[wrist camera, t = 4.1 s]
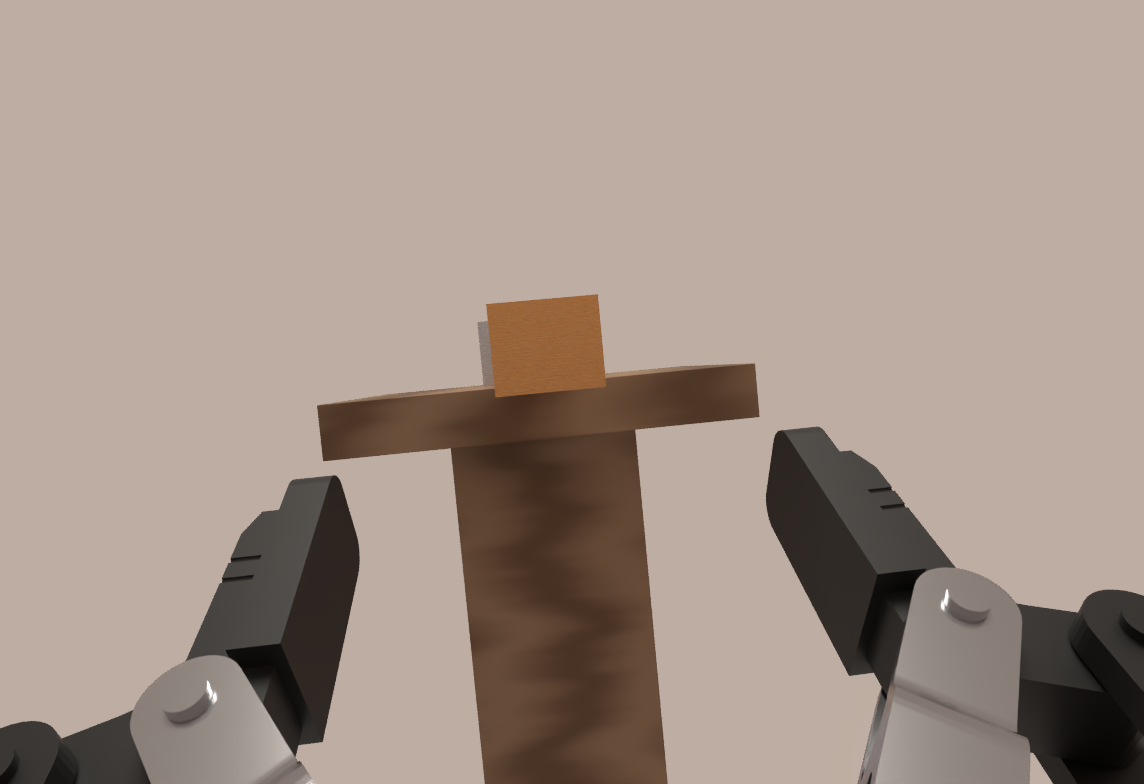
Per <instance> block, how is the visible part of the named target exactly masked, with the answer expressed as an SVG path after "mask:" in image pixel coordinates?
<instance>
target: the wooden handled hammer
mask: <svg viewBox="0 0 1144 784" xmlns="http://www.w3.org/2000/svg"><path fill="white" fill-rule="evenodd" d="M486 305H487V316H488V321H487V322H478V332H479V342H480V352H481V363H482V373H483V383H484V387H485V386H494V387H495V397H505V396H515V395H526V394H536V393H546V392H557V391H567V390H577V389H588V388H598V387H606V379H605V369H604V359H603V347H602V336H601V326H600V314H599V304H598V295H587V296H576V297H564V298H552V299H541V300H530V301H518V302H508V303H495V304H486Z"/></svg>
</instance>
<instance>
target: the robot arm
mask: <svg viewBox="0 0 1144 784" xmlns="http://www.w3.org/2000/svg"><path fill="white" fill-rule="evenodd" d="M766 505H767V512H768V516H769V520H770V523H771V526H772V528H773V530H774V532H775V534H776V536H777V538H778V540H779V541H780V543H781V545H782V547H783V549H784V551H785V553H786V555H787V557H788V559H789V561H790V563H791V565H792V567H793V568H794V570H795V572H796V574H797V576H798V578H799V580H800V582H801V584H802V586H803V587H804V590H805V592H806V593H807V595H808V597H809V599H810V601H811V603H812V605H813V607H814V609H815V611H816V612H817V615H818V617H819V619H820V620H821V623H822V624H823V626H824V628H825V630H826V632H827V634H828V636H829V638H830V640H831V642H832V644H833V646H834V648H835V649H836V651H837V653H838V655H839V657H840V659H841V661H842V663H843V665H844V667H845V669H846V671H847V673H848V675H849V676H852V675H859V674H867V673H874V674H875V675H876V677H877V679H878V681H879V683H880V685H881V686H882V687H881V690H880V693H879V696H878V700H877V704H876V708H875V712H874V717H873V721H872V725H871V730H870V734H869V738H868V742H867V746H866V750H865V755H864V759H863V764H862V768H861V772H860V776H859V780H858V784H1029V781H1030V779H1029V778H1030V752H1031V753H1034V754H1035V756H1036V758H1037V759H1038V761H1039V762H1040V764H1041V765H1042V767H1043V769H1044V770H1045V772H1046V773H1047V775H1048V776H1049V778H1050V779H1051V781H1052V782H1053V784H1144V596H1142V595H1139V594H1136V593H1132V592H1128V591H1122V590H1102V591H1097V592H1094V593H1092V594H1091V595H1089V596H1088V597H1087V598H1086V599H1085V600H1084V602H1083V604H1082V606H1081V608H1080V610H1079V612H1078V613H1076V612H1069V611H1062V610H1056V609H1049V608H1042V607H1041V608H1040V607H1035V606H1028V605H1022V604H1017V603H1015V601H1014V600H1013V599H1012V598H1011V596H1010V595H1009V594H1008V593H1007V592H1006V591H1005V590H1003V589H1002V588H1001V587H1000V586H998V585H997V584H995V583H994V582H992V581H991V580H989V579H987V578H985V577H983V576H981V575H979V574H976V573H973V572H970V571H967V570H963V569H957V568H955V566H954V565H953V564H952V563H951V561H950V560H949V559H948V558H947V556H946V555H945V554H944V552H943V551H942V550H941V549H940V547H939V546H938V545H937V544H936V542H935V541H934V540H933V539H932V537H931V536H930V535H929V534H928V532H927V531H926V530H925V529H924V527H923V526H922V525H921V523H920V522H919V521H918V520H917V518H916V517H915V516H914V515H913V513H912V512H911V511H910V509H909V508H905V505H904V502H903V501H902V499H901V498H900V497H899V496H898V494H897V493H896V492H895V491H892V489H891V486H890V484H889V483H888V482H887V480H886V479H885V478H884V477H883V475H882V474H881V473H880V472H879V470H878V469H877V468H876V467H875V466H874V465H872V464H870V463H869V462H868V461H866V460H865V459H863V458H862V457H860V456H858V455H857V454H855V453H854V452H852V451H842V452H839V450H838V449H837V448H836V446H835V445H834V444H833V442H832V441H831V439H830V438H829V437H828V435H827V434H826V433H825V431H824V430H823V429H822V428H820V427H810V428H801V429H791V430H781V431H778V432H777V433H776V435H775V438H774V443H773V449H772V456H771V463H770V471H769V478H768V485H767V493H766ZM359 561H360V560H359V544H358V539H357V535H356V532H355V528H354V525H353V521H352V518H351V515H350V512H349V508H348V505H347V501H346V498H345V495H344V491H343V488H342V485H341V482H340V480H339V478H338V477H337V476H335V475H334V476H324V477H316V478H305V479H296V480H292V481H291V482H290V484H289V486H288V488H287V491H286V493H285V496H284V499H283V501H282V504H281V506H280V509H279V510H275V511H266V512H262V513H261V514H260V515H259V516H258V517H257V518H256V519H255V520H254V521H253V522H252V523H251V524H250V526H249V527H248V528H247V529H246V530H245V531H244V532H243V533H242V534H241V536H240V538H239V540H238V543H237V545H236V547H235V550H234V552H233V554H232V557H231V563H228V566H227V568H226V570H225V572H224V575H223V577H222V583H220V584H219V586H218V589H217V591H216V593H215V595H214V598H213V600H212V602H211V605H210V607H209V609H208V612H207V614H206V616H205V618H204V621H203V623H202V625H201V628H200V630H199V632H198V634H197V637H196V639H195V641H194V644H193V646H192V648H191V651H190V653H189V655H188V658H187V659H186V661H185V662H183V663H181V664H179V665H177V666H175V667H173V668H171V669H170V670H168V671H167V672H165V673H164V674H162V675H161V676H160V677H159V678H158V679H157V680H155V681H154V682H153V683H152V684H151V685H150V686H149V687H148V688H147V689H146V690H145V692H144V693H143V694H142V696H141V697H140V699H139V700H138V702H137V703H136V705H135V707H134V710H132V711H130V712H128V713H126V714H123V715H121V716H119V717H116V718H114V719H111V720H109V721H106V722H103V723H101V724H98V725H96V726H93V727H90V728H88V729H85V730H83V731H80V732H78V733H75V734H73V735H70V736H67V737H65V738H62V739H61V737H60V736H59V735H58V734H57V732H56V731H55V730H54V729H53V727H51V726H50V725H48V724H46V723H43V722H37V721H28V722H20V723H16V724H12V725H9V726H6V727H4V728H1V729H0V784H315V783H314V781H313V780H312V778H311V777H310V775H309V773H308V772H307V770H306V769H305V767H304V766H303V765H302V763H301V762H300V761H299V762H298V761H297V759H296V758H295V757H296V753H297V749H298V745H302V744H311V743H318V742H323V738H324V733H325V728H326V724H327V718H328V714H329V709H330V704H331V700H332V695H333V690H334V685H335V681H336V676H337V672H338V667H339V662H340V658H341V653H342V648H343V643H344V639H345V634H346V629H347V624H348V620H349V615H350V610H351V606H352V601H353V596H354V592H355V587H356V582H357V577H358V572H359Z"/></svg>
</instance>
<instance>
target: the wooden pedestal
mask: <svg viewBox="0 0 1144 784" xmlns="http://www.w3.org/2000/svg"><path fill="white" fill-rule="evenodd" d="M605 379H606V387H598V388H588V389H577V390H567V391H557V392H546V393H536V394H526V395H515V396H505V397H495V387H494V386H485V387H484V385H482V386H471V387H460V388H451V389H441V390H429V391H419V392H408V393H398V394H387V395H381V396H374V397H368V398H362V399H355V400H349V401H343V402H337V403H331V404H324V405H318V406H317V409H318V418H319V427H320V436H321V445H322V455H323V461H330V460H340V459H349V458H359V457H369V456H379V455H388V454H399V453H409V452H419V451H428V450H438V449H448V448H451V454H452V464H453V474H454V483H455V494H456V504H457V513H458V523H459V533H460V543H461V553H462V563H463V573H464V582H465V592H466V602H467V612H468V622H469V631H470V642H471V651H472V661H473V670H474V681H475V691H476V701H477V711H478V720H479V730H480V740H481V748H482V749H481V750H482V759H483V770H484V779H485V784H667V772H666V762H665V750H664V740H663V730H662V729H663V728H662V718H661V708H660V696H659V685H658V674H657V663H656V652H655V642H654V630H653V619H652V609H651V597H650V587H649V576H648V565H647V555H646V544H645V532H644V521H643V510H642V500H641V488H640V479H639V478H640V477H639V467H638V458H637V457H638V456H637V445H636V434H635V429H645V428H655V427H665V426H675V425H684V424H694V423H704V422H714V421H723V420H734V419H742V418H754V417H759V406H758V395H757V384H756V371H755V364H730V365H705V366H681V367H670V368H659V369H649V370H639V371H628V372H617V373H607V374H605Z"/></svg>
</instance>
